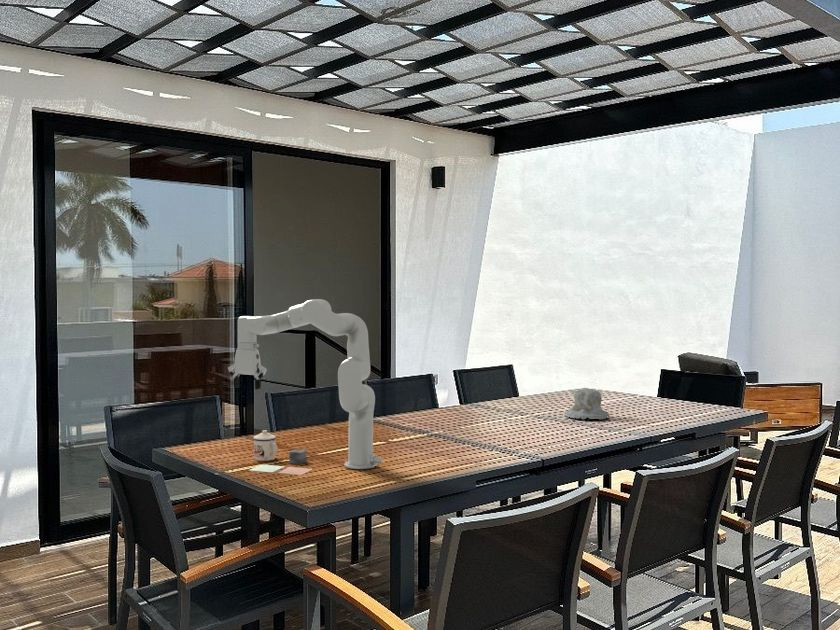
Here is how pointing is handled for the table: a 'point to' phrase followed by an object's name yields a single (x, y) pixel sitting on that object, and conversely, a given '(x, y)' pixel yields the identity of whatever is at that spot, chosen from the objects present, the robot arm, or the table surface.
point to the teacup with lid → (264, 446)
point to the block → (297, 456)
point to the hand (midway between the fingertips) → (247, 388)
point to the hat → (587, 405)
